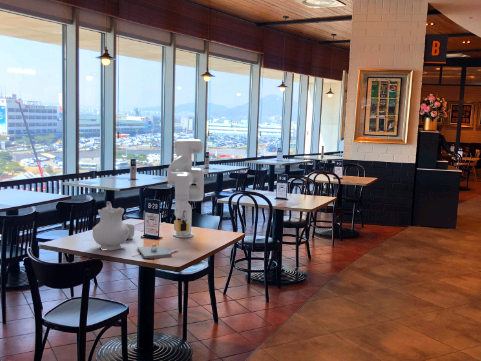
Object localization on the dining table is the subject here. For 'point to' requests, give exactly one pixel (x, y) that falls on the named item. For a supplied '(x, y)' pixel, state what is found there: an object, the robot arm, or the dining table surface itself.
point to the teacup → (130, 230)
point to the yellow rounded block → (178, 226)
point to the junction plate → (154, 251)
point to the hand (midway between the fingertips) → (181, 228)
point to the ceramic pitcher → (110, 228)
